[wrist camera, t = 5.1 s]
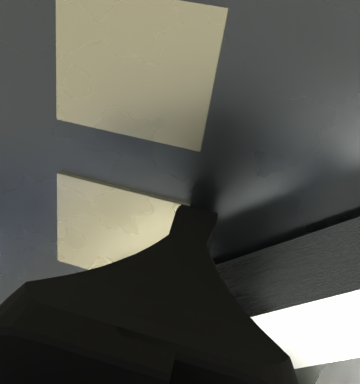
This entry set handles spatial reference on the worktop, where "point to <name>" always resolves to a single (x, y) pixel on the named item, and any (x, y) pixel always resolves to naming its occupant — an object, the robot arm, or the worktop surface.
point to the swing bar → (304, 293)
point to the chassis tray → (173, 127)
